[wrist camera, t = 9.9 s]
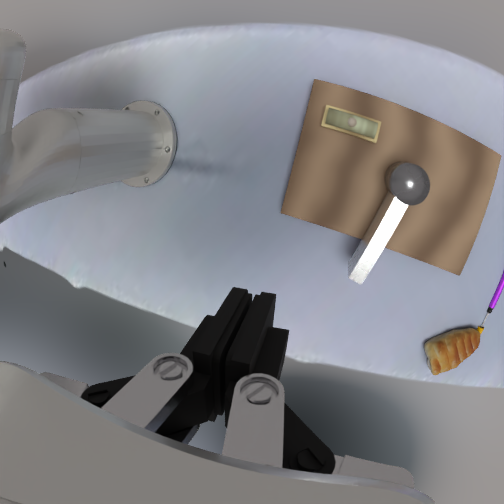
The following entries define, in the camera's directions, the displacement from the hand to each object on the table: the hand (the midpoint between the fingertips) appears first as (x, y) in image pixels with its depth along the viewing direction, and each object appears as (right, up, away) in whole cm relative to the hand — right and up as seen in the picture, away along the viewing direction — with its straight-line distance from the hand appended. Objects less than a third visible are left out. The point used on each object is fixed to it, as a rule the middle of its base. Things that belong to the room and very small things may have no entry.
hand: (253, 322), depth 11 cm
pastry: (+29, -11, +23) cm, 39 cm away
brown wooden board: (+17, +11, +18) cm, 27 cm away
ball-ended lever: (+14, +7, +18) cm, 24 cm away
